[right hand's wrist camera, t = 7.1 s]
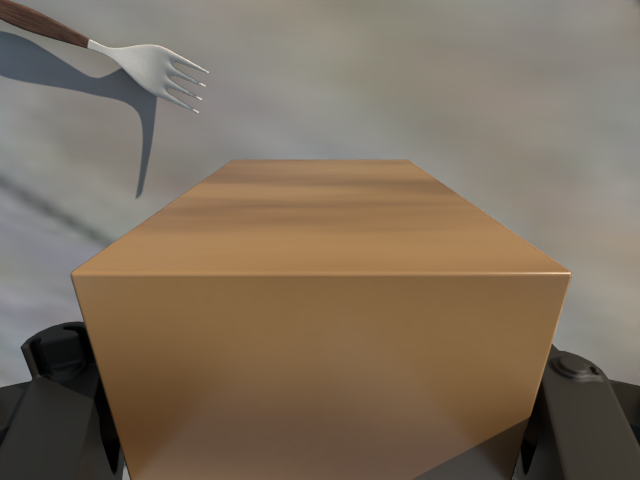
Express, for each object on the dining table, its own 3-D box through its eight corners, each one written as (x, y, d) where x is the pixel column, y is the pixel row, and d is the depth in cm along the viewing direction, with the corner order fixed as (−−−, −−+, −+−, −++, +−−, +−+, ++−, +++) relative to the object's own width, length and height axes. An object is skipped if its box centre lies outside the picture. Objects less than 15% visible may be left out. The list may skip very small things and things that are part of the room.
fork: (-83, -55, 18) (-130, -73, 16) (220, 70, 20) (209, 67, 18) (-81, 1, 19) (-125, -9, 17) (208, 115, 21) (197, 117, 19)
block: (394, 312, 18) (485, 572, 8) (246, 312, 18) (156, 572, 8) (408, 159, 15) (575, 272, 5) (232, 159, 15) (66, 272, 5)
